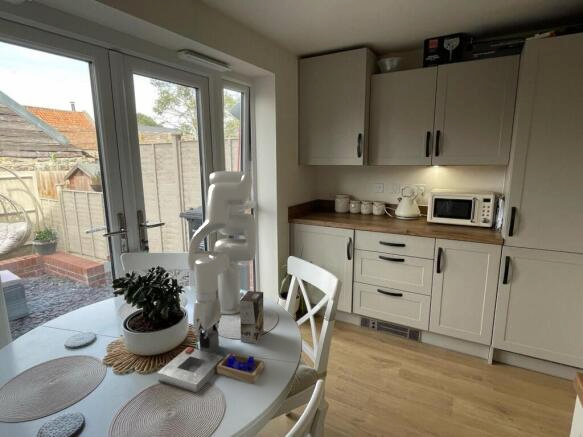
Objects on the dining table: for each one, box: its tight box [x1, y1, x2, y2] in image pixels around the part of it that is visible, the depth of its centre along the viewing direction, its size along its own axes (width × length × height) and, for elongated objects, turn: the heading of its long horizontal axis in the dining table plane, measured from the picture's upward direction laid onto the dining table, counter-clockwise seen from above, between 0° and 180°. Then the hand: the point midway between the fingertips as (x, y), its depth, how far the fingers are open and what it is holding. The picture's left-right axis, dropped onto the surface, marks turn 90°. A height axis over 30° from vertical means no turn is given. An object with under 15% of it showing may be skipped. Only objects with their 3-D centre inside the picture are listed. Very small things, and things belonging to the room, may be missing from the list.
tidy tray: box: [216, 352, 266, 384], centre depth 100 cm, size 8×13×2 cm, turn 69°
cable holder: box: [226, 355, 255, 373], centre depth 101 cm, size 8×4×4 cm, turn 83°
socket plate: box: [157, 346, 225, 393], centre depth 100 cm, size 14×14×3 cm
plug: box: [198, 326, 220, 354], centre depth 111 cm, size 5×5×10 cm
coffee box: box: [239, 290, 265, 344], centre depth 119 cm, size 9×6×16 cm
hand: (209, 342), depth 111 cm, fingers closed on plug, 4 cm apart
